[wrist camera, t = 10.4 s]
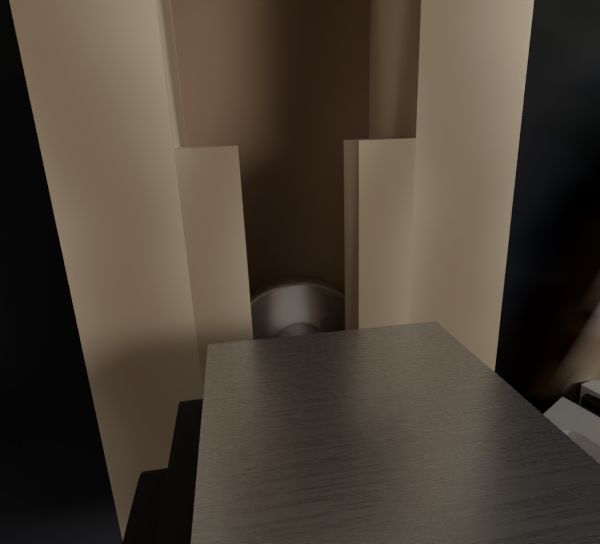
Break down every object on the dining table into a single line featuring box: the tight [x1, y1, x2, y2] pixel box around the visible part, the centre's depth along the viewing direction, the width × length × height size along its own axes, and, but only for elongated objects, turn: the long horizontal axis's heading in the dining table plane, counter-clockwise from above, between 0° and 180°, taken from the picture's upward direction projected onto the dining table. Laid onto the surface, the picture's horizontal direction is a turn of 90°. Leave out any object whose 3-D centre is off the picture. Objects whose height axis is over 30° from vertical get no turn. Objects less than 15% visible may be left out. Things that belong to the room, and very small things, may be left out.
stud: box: [191, 276, 600, 544], centre depth 10 cm, size 5×5×11 cm
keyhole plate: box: [9, 0, 534, 540], centre depth 13 cm, size 11×20×4 cm, turn 2°
